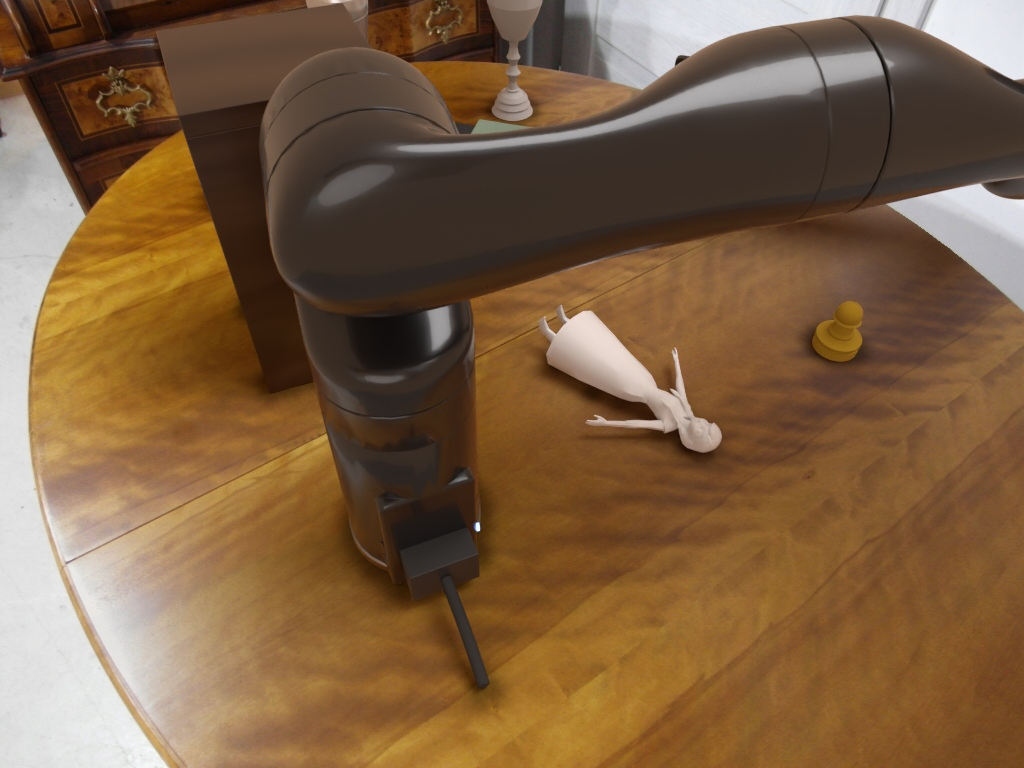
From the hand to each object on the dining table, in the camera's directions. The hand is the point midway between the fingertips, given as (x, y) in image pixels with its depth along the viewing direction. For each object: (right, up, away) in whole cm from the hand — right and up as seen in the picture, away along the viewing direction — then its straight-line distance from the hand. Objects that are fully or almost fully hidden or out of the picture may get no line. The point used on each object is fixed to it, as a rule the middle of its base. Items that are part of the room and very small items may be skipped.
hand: (669, 86), depth 75 cm
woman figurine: (-6, -30, -10) cm, 32 cm away
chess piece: (+13, -26, -6) cm, 30 cm away
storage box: (-9, -6, +10) cm, 15 cm away
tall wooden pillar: (-32, -24, -6) cm, 40 cm away
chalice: (-15, +5, +20) cm, 26 cm away
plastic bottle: (-34, +1, +17) cm, 38 cm away
